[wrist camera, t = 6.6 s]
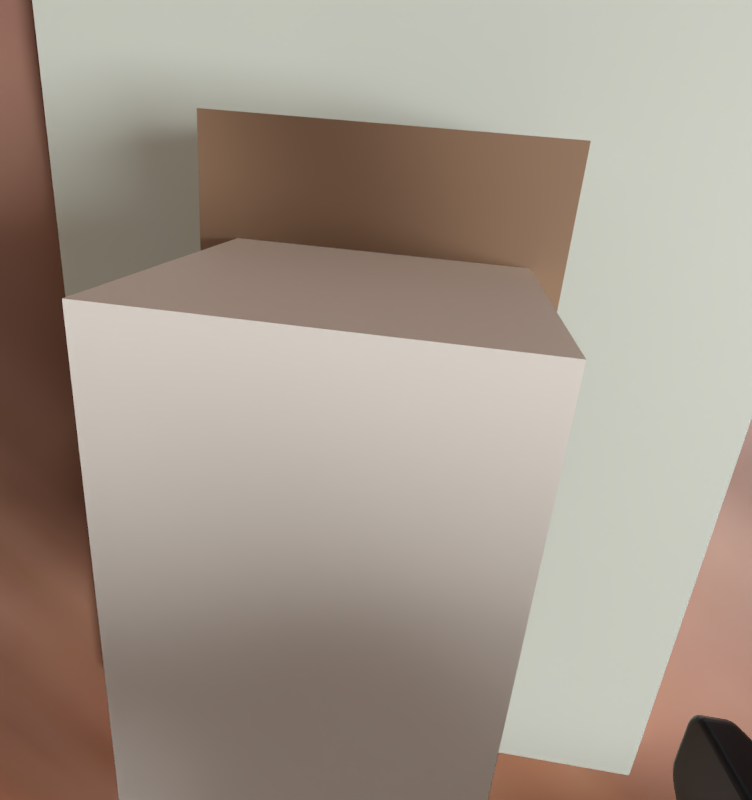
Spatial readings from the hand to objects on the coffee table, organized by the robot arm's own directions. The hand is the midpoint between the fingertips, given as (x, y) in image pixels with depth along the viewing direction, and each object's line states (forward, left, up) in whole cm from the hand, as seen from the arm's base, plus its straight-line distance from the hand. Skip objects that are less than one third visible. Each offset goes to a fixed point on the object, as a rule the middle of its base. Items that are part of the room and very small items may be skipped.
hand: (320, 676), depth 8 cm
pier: (0, -4, -8) cm, 9 cm away
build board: (0, 0, -8) cm, 8 cm away
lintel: (0, 0, -3) cm, 3 cm away
